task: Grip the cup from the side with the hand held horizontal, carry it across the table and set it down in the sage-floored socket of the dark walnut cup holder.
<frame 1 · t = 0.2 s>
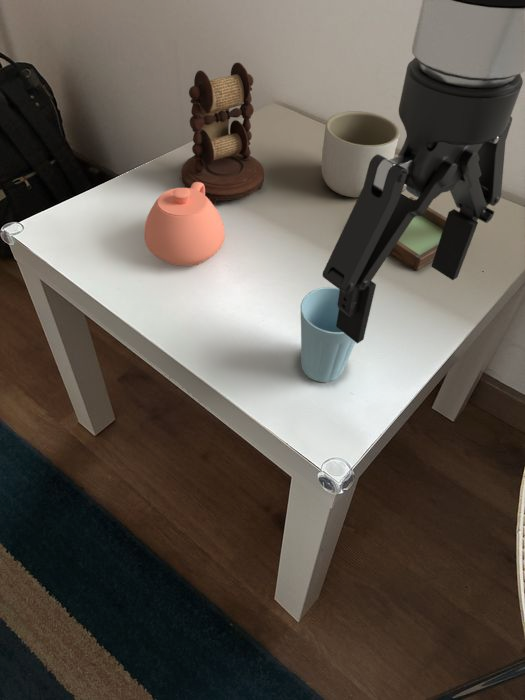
hand: (399, 301, 51), 19 cm above the table, tool pointing down, fingers open, 13 cm apart
planter: (351, 186, 99), on the table
sugar bowl: (188, 246, 86), on the table
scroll: (223, 184, 97), on the table
cup: (322, 366, 70), on the table
cup holder: (412, 237, 89), on the table
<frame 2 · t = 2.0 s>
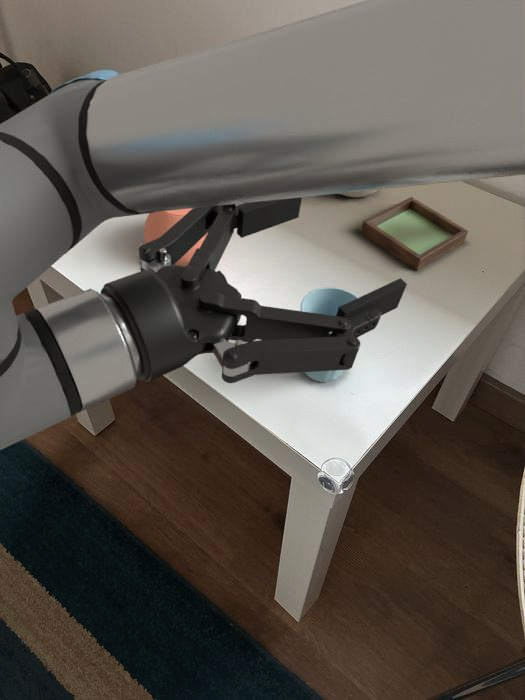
hand: (345, 245, 47), 25 cm above the table, tool horizontal, fingers open, 13 cm apart
nothing on the table moved.
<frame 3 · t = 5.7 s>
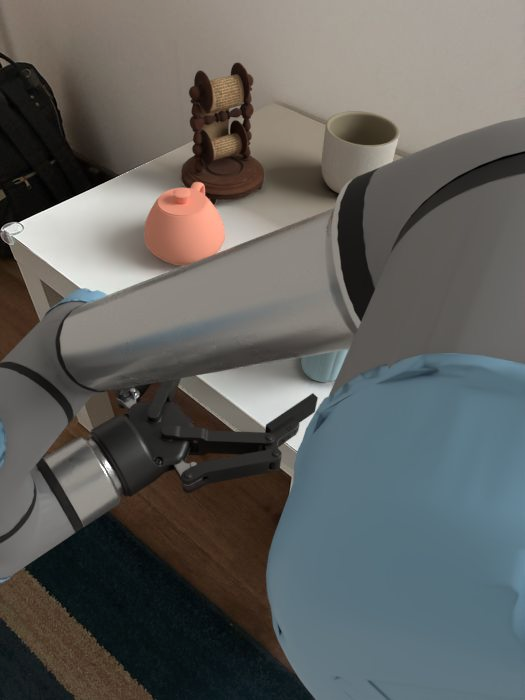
hand: (273, 363, 61), 7 cm above the table, tool horizontal, fingers open, 13 cm apart
nothing on the table moved.
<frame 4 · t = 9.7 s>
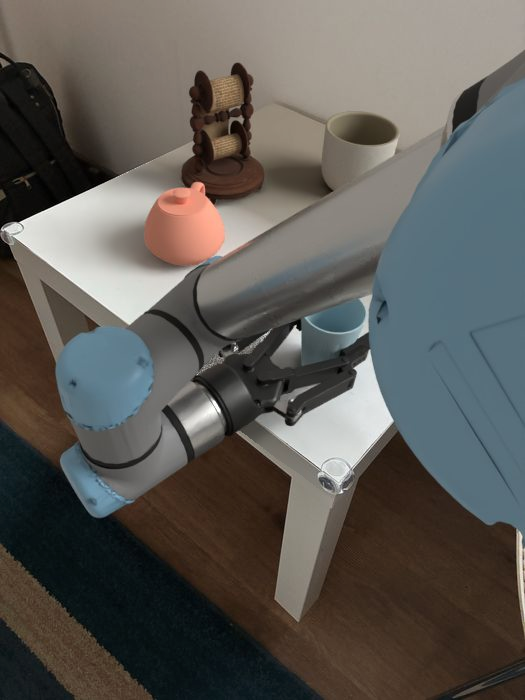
hand: (356, 317, 68), 6 cm above the table, tool horizontal, fingers closed on cup, 7 cm apart
cup: (322, 366, 70), on the table, touching gripper
everything else where it was.
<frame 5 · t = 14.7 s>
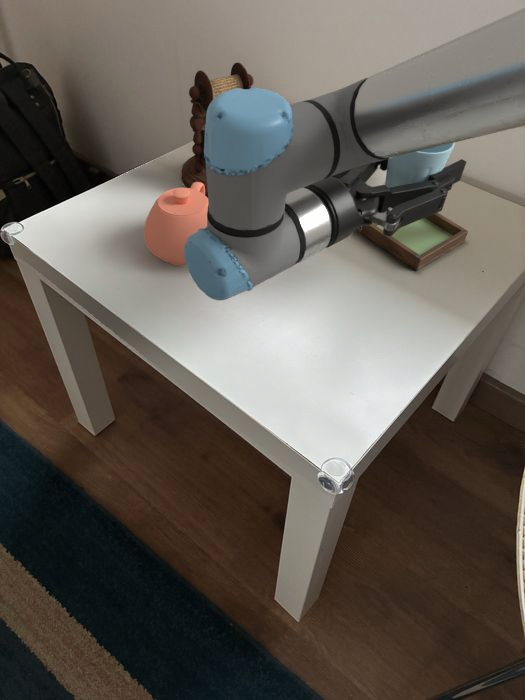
hand: (437, 157, 71), 18 cm above the table, tool horizontal, fingers closed on cup, 7 cm apart
cup: (401, 210, 74), point 12 cm above the table, touching gripper
everything else where it was.
when the fingers open (7 cm above the table, at t = 19.8 s): cup stays where it is, resting on cup holder.
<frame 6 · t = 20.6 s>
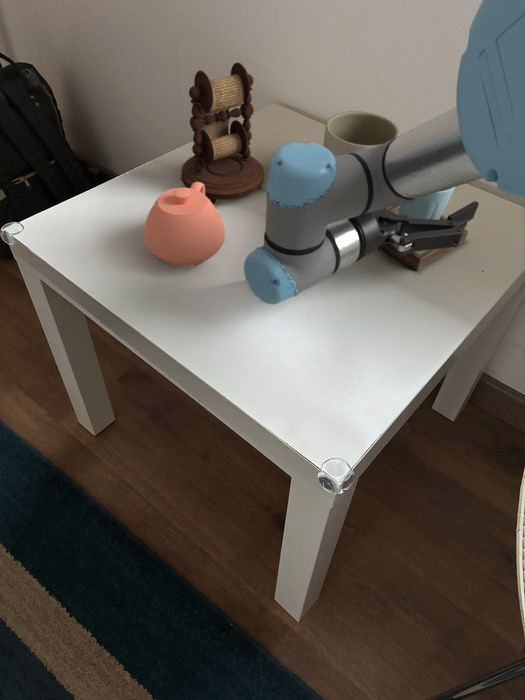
hand: (438, 189, 85), 8 cm above the table, tool horizontal, fingers open, 13 cm apart
cup: (413, 235, 89), point 1 cm above the table, touching cup holder
everything else where it was.
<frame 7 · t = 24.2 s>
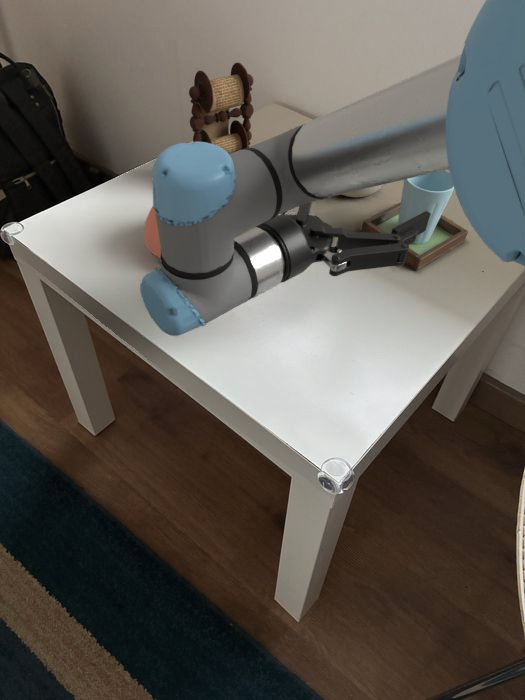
hand: (387, 196, 73), 13 cm above the table, tool horizontal, fingers open, 13 cm apart
nothing on the table moved.
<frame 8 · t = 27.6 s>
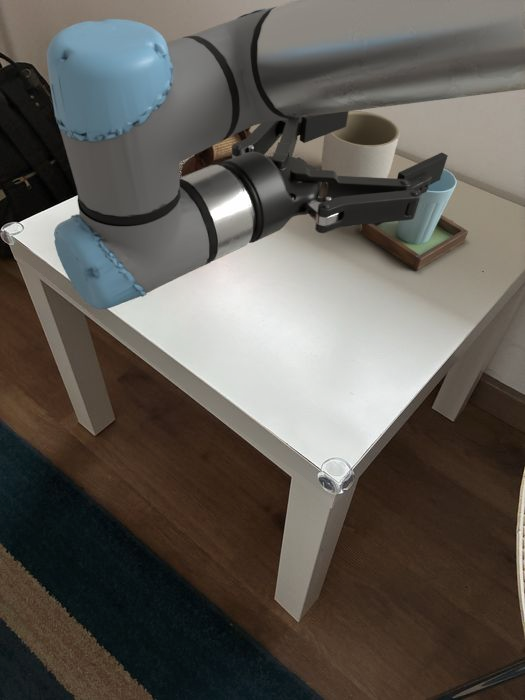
hand: (390, 138, 58), 26 cm above the table, tool horizontal, fingers open, 13 cm apart
nothing on the table moved.
at the end: cup 0.0 cm off-centre in the cup holder, point 0.5 cm above the cup holder's base; cup tilted 0°; the gripper is holding nothing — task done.
